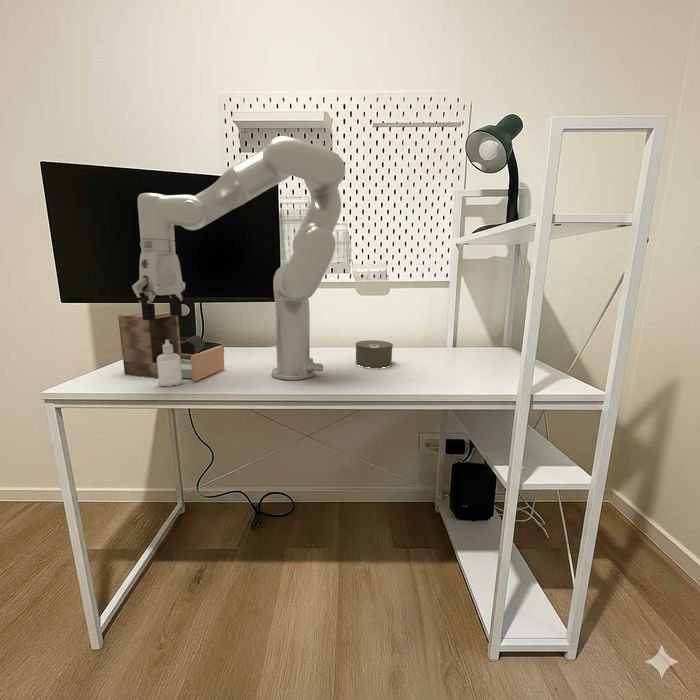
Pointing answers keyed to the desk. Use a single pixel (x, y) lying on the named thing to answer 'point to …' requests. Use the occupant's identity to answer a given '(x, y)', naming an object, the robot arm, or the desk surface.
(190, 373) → the drawer
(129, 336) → the cabinet
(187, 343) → the end cap
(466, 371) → the desk surface
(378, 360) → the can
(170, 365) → the eye dropper bottle
